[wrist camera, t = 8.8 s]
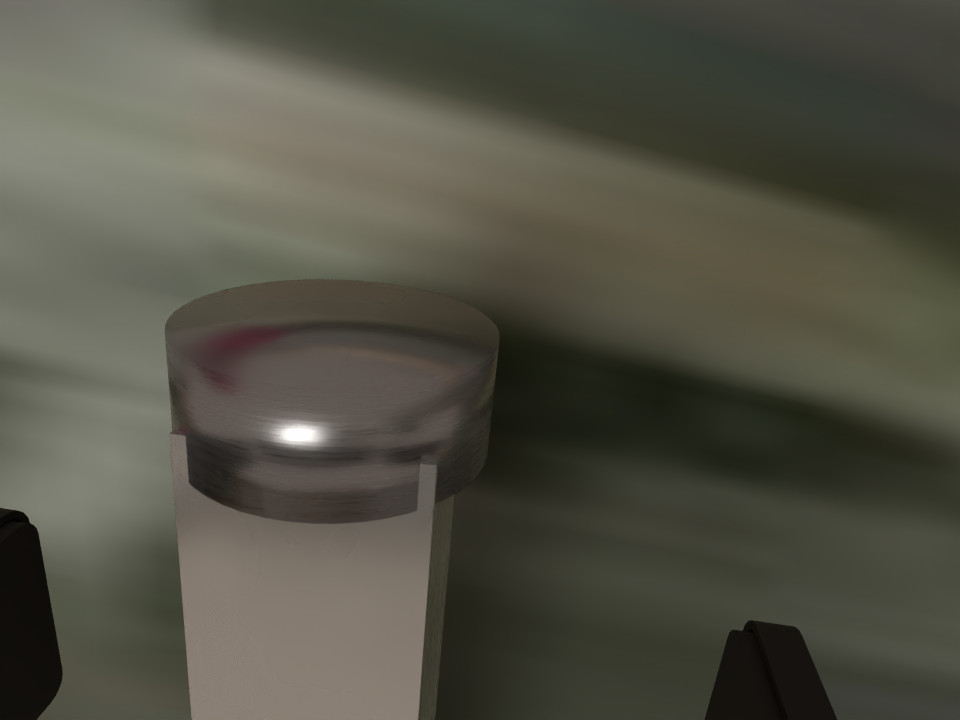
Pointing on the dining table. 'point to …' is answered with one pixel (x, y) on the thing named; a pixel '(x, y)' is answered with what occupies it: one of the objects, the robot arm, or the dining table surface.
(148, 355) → the dining table surface
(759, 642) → the robot arm
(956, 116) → the dining table surface
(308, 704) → the shaft
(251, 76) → the dining table surface
